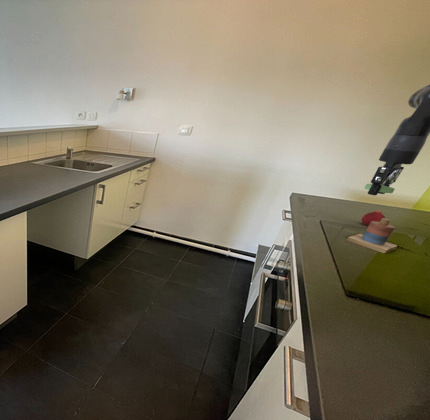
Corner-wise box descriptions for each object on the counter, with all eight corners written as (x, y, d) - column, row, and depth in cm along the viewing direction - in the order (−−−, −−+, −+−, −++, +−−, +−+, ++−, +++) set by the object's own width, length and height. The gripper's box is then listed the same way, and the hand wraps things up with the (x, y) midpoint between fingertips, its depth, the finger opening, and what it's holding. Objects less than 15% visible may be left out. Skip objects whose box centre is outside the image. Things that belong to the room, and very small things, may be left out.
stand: (357, 237, 91) (372, 212, 87) (395, 249, 83) (413, 223, 80) (346, 240, 88) (360, 215, 84) (384, 253, 80) (402, 226, 76)
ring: (368, 187, 95) (370, 183, 94) (395, 192, 89) (397, 188, 89) (361, 188, 92) (363, 184, 92) (387, 193, 87) (390, 189, 86)
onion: (366, 230, 98) (377, 211, 95) (353, 224, 103) (363, 206, 100) (384, 232, 96) (395, 213, 93) (370, 226, 102) (381, 208, 99)
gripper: (412, 151, 79) (383, 199, 85) (427, 150, 84) (398, 195, 91) (377, 147, 85) (352, 192, 92) (393, 147, 91) (369, 189, 97)
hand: (375, 193), depth 91 cm, fingers closed on ring, 6 cm apart
